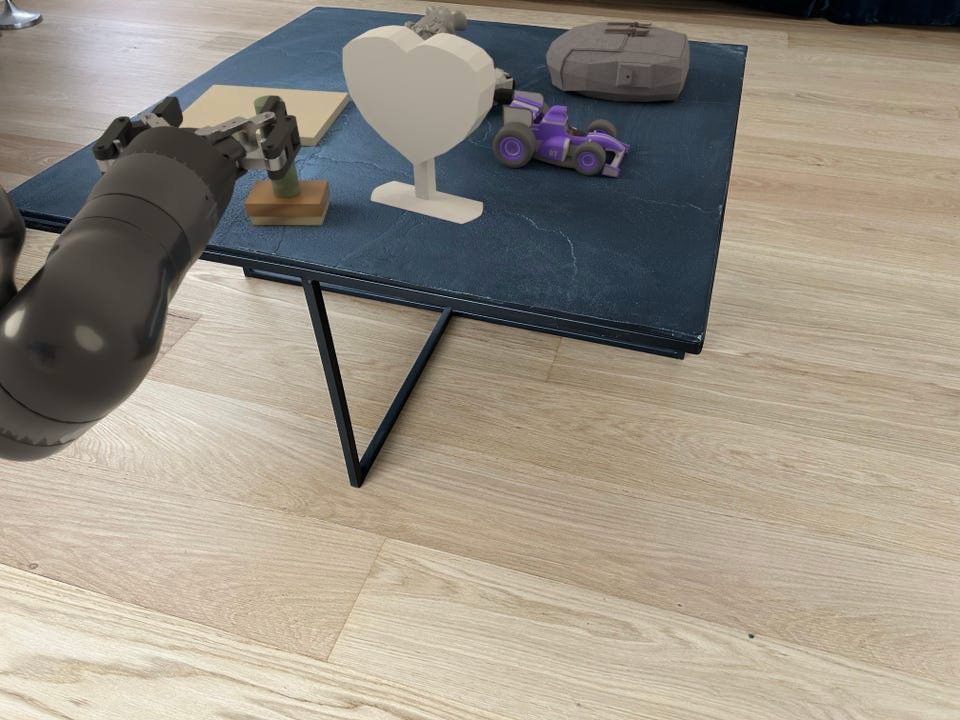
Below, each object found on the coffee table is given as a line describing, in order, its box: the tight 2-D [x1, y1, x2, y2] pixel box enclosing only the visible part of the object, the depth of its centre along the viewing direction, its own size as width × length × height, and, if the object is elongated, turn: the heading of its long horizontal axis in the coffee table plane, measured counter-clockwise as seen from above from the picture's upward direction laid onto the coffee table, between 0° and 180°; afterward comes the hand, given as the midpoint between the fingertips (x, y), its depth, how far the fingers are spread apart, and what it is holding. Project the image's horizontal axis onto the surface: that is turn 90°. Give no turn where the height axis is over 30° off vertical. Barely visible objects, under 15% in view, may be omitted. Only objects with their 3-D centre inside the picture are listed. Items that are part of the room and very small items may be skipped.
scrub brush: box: [244, 95, 331, 226], centre depth 78 cm, size 8×5×13 cm, turn 89°
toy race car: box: [492, 89, 631, 178], centre depth 89 cm, size 10×15×6 cm, turn 71°
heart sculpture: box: [342, 24, 496, 225], centre depth 78 cm, size 16×5×18 cm, turn 63°
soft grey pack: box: [545, 21, 691, 103], centre depth 105 cm, size 15×8×20 cm
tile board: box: [179, 84, 350, 147], centre depth 100 cm, size 20×14×1 cm
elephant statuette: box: [403, 4, 468, 41], centre depth 112 cm, size 9×12×8 cm
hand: (226, 107), depth 62 cm, fingers open, 8 cm apart
